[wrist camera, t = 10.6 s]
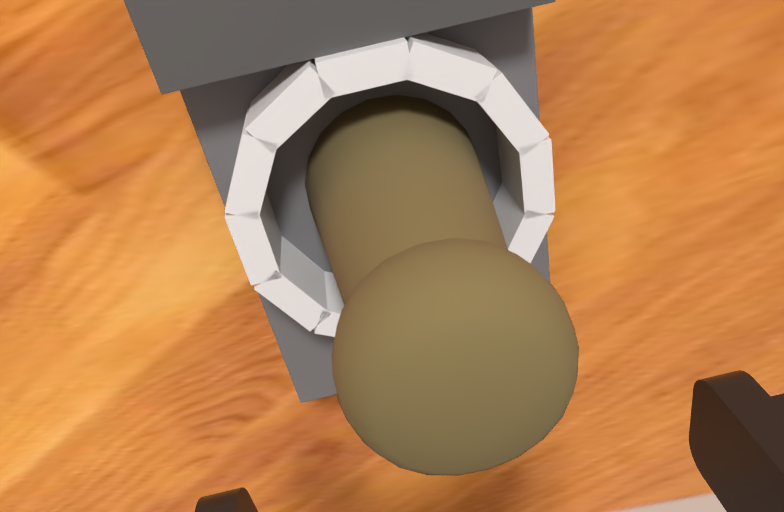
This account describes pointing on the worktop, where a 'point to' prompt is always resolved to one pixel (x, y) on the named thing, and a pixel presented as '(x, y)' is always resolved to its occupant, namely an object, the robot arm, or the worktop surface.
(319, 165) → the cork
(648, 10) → the worktop surface
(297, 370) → the camera body
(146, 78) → the worktop surface
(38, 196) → the worktop surface
